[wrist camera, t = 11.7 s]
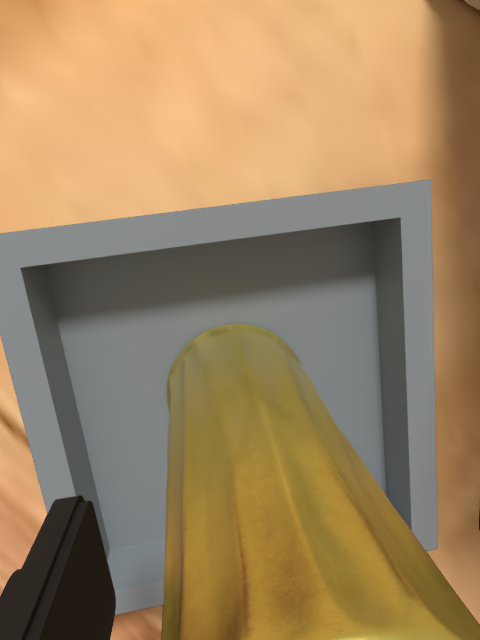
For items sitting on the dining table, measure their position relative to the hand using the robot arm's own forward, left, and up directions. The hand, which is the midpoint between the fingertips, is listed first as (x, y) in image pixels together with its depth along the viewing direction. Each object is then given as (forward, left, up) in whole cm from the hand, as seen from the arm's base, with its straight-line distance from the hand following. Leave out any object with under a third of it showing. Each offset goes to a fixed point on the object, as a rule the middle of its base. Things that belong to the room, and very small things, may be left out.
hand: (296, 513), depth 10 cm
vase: (0, +1, -10) cm, 10 cm away
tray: (+1, +1, -10) cm, 10 cm away
